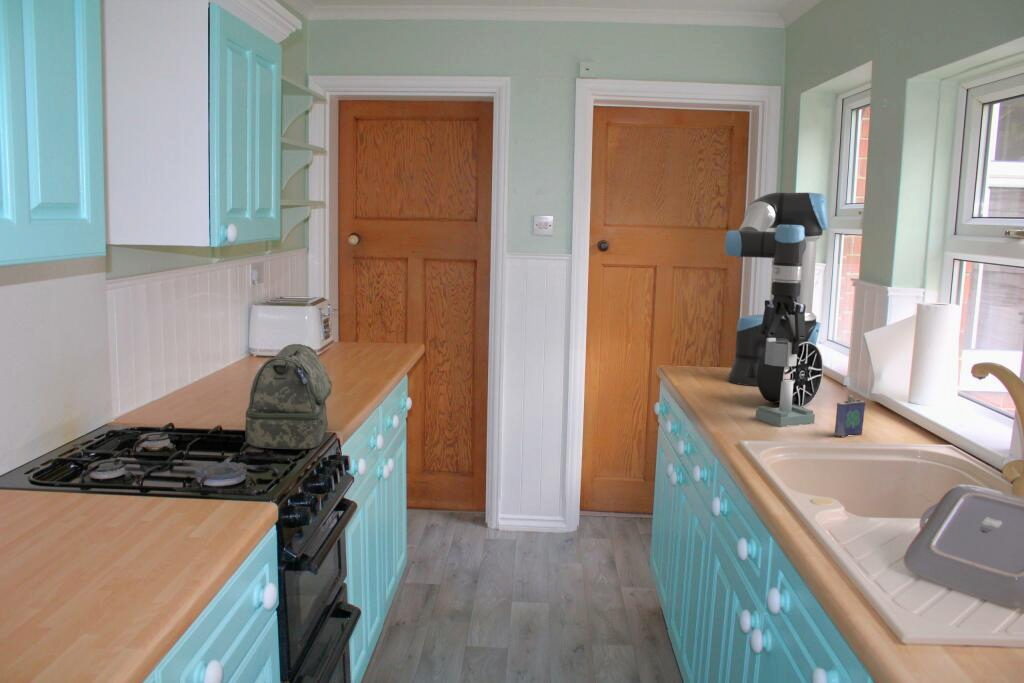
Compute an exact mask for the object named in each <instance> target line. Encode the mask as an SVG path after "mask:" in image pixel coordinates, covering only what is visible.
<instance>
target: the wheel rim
mask: <svg viewBox="0 0 1024 683" xmlns="http://www.w3.org/2000/svg"><path fill="white" fill-rule="evenodd" d="M776 341H787V342H789V340H787V339H784V338H778V339H776ZM765 352H766V348H765V350H764V352H763V353H762V356H761V358H760V361H759V364H758V370H757V383H758V386H757V387H758V391H759V393H760V395H761V397H763V399H764V400H766V401H768V402H770V403H780V393H781V381H790V382H793V396H792V405H795V406H799V407H803V408H805V407H807V406H809V405H810V404H811V402H813V400H814V399H815V398H816V397H817V394H818V392H819V390H820V387H821V385H822V381H823V377H824V360H823V356H822V353H821V350H820V349H819V347H818V346H817V344H816V345H815V344H813V343H811V342H807V341H801V342H800V343H799V353H798V354H797V363H796V366H790V367H789V369H788V370H787V371H786V369H787V367H783V366H772V365H768V364H765ZM789 375H790V376H789ZM786 376H789V377H790V378H789V379H788V378H785V377H786Z"/></svg>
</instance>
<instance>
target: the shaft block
mask: <svg viewBox="0 0 1024 683" xmlns="http://www.w3.org/2000/svg"><path fill="white" fill-rule="evenodd" d="M792 396H793V382H790V381H781V393H780V402H779V407H771V406H770V407H769V406H766V405H762V406H761V405H759V406H757V409H756V410H755V416H754V417H755V418H754V419H755V420H758V421H762V422H764V421H765V423H767V422H768V424H770V423H771V425H773V424H774V426H776V425H778V426H777V427H779V426H784V427H788V426H787V425H794V426H800V425H799V424H803V425H809V424H808V423H813V424H815V416H816V415H815V414H814V410H812V409H809V408H805V407H803V408H802V407H799V406H795V405H792Z"/></svg>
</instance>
